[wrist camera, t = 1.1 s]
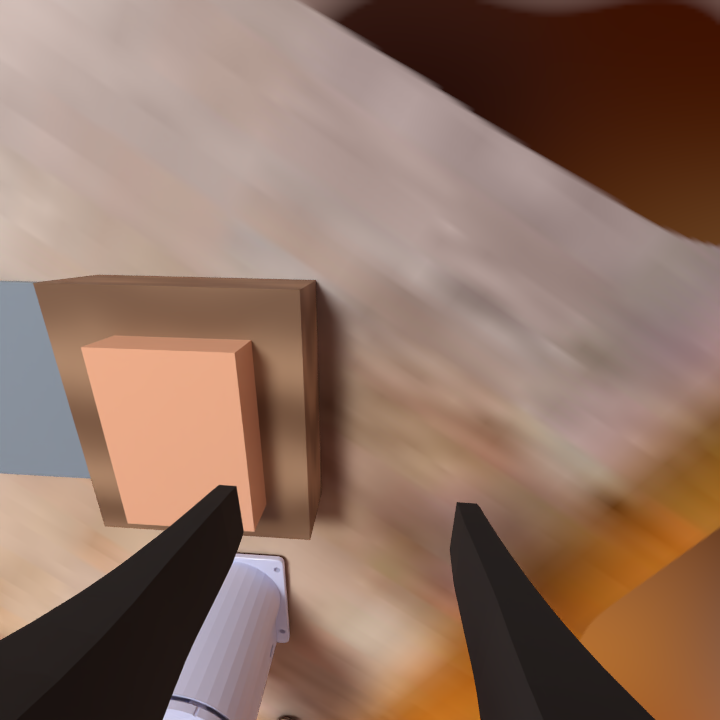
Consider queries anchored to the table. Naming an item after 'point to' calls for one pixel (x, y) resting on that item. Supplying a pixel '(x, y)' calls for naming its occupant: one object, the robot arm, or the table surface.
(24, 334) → the mat
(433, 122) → the table surface
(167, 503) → the block
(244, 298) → the board
